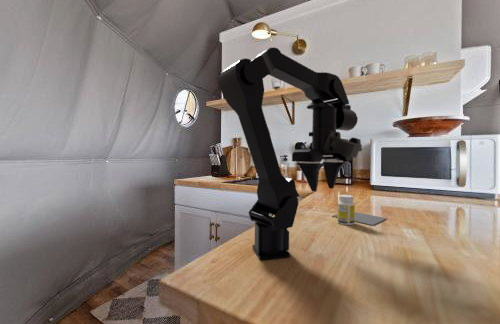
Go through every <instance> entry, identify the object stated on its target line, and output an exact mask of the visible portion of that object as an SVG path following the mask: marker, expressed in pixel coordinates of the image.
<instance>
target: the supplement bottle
mask: <svg viewBox="0 0 500 324" xmlns="http://www.w3.org/2000/svg"><path fill="white" fill-rule="evenodd" d="M338 200H339V201H338V202H337V214H338V218H337V223H338V224H339V225H345V226H354V224H355V222H354V220H355V212H356V210H355V209H356V208H355V206H356V205H355V202H354V196H353V195H350V194H339V198H338Z"/></svg>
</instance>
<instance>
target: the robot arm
mask: <svg viewBox="0 0 500 324" xmlns="http://www.w3.org/2000/svg"><path fill="white" fill-rule="evenodd" d="M267 76H271V77H273V78H275V79H277V80H279V81H281V82H283V83H286V84H288V85H290V86H293V87H295V88H297V89H298V90H301V92H303V93H304V96H305V97H306V99H309V100H310V101H311V102H309V104H308V105H307V106H306V109H308V110H312V129H311V130H312V131H309V132H308V137H311V141H312V142H311V147H310V148H308V149H294V150H293V152H292V153H291V162H296V165H298V167H299V168H300V169H301V171H302V173H303V175H304V177H305V179H306V181H307V183H308V185H309V188H310V190H311V192H314V193H315V192H317V190H318V185H319V184H318V183H319V173H320V170H321V169H322V167H323V171H324V175H325V178H326V183H327V186H328V189H330V190H331V189H334V188H335V184H336V181H337V179H338V176H339V174H340V171H341V169H342V168H343V167H344V166H346V165H348V162H351V161H352V158H354V159H355V158H357V157H358V153H359V152H362V151H363V148H362V146H363V145H362V144H361V143H362V142H361V141H362V140H361V139H360V138H357V137H350V139H345V138H342V137H341V136H342V135H341V133H340V132H339V131H345V132H346V131H347V132H349V131H352V130H353V129H354V128H355V127H356V126H357V124H358V118H359V117H358V116H357V113H356V112H355V111H354V110H353V109H351V108H352V107H351V105H350V100H349V97H348V96H347V93H346V90H345V87H344V84H343V82H342V80H341V79H340V77H339V76H338V75H336V74H334V73H330V72H324V71H322V72H321V71H320V72H319V71H315V70H312V69H311V68H309V67H307V66H306V65H304V64H302V63H301V62H298V61H297V60H295V59H293V58H291V57H289V56H288V55H285V54H284V53H282V52H281V50H280V49H279V48H278V47H269V48H267V49H266V50H264V51H262V52H260V53H259V54H257V56H256V57H254V58H253V59H250V58H242V59H239V60H238V61H236V62H235V63H233V64H231V65H230V66H228V67H227V68H225V69H224V70H223V71H221V72H220V74H219V77H218V79H217V80H218V82H217V84H218V88H219V90H220V91H221V93H222V95H223V98H224V100H225V102H226V103H227V105H228V106H229V107H230V108H231V109H232V110H233V111H234V112H235V114H237V117H238V120H239V122H240V125H241V130H242V132H243V135H244V137H245V142H246V143H247V144H246V145H247V146H248V151H249V154H250V157H251V160H252V163H253V165H254V169H255V171H256V175H257V178H258V183H257V188H256V195H257V200H256V202H255V203H254V204H253V206H252V207H251V208H250V209H249V211H248V215H249V218H250V221H252V222H254V244H253V245H252V250H253V251H254V252H255V254H256V255H257V257H258V259H259V260H262V261H264V260H265V261H266V260H272V259H280V258H289V257H291V253H290V252H289V250H290V231H289V230H288V229H289V228H292V227H293V225H294V222H295V219H296V216H297V215H296V214H297V210H298V207H299V198H298V197H300V194H299V193H298V191H297V186H296V182H295V180H294V178H290V177H284V175H283V173H282V171H281V168H280V163H279V161H278V157H277V154H276V151H275V147H274V144H273V141H272V137H271V135H270V131H269V127H268V123H267V121H266V117H265V115H264V111H263V101H264V100H263V99H264V95H265V86H264V80H263V79H265V78H266V77H267ZM337 130H338V131H337ZM323 160H325V161H323ZM271 215H272V216H271Z"/></svg>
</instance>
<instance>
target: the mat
mask: <svg viewBox="0 0 500 324" xmlns="http://www.w3.org/2000/svg"><path fill="white" fill-rule="evenodd" d="M331 217H333V218H336V219H338V213H336V214H333V215H332V216H331ZM386 220H387V217H382V216H378V215H377V216H376V215H373V214H367V213H361V212H357V211H355V220H354V223H358V224H363V225H368V226H371V227H373V226H375V225H377V224H381V223H382V222H384V221H386Z"/></svg>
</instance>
